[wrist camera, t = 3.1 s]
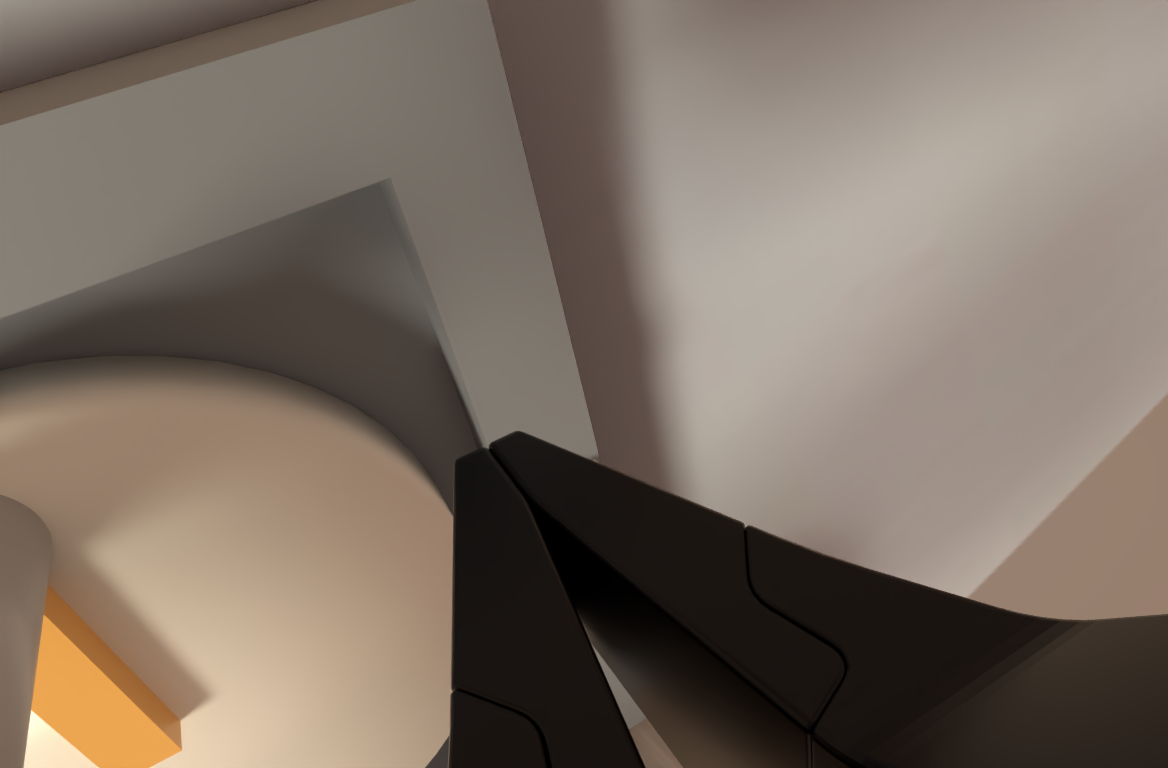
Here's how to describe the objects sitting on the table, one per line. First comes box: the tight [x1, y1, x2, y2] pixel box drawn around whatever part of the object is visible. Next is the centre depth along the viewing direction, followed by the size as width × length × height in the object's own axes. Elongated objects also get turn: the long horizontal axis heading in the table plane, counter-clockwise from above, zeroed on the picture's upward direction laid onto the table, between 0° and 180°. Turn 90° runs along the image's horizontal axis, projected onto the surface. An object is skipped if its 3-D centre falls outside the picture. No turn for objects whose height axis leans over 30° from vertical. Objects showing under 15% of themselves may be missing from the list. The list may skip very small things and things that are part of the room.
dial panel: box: [0, 0, 647, 768], centre depth 14 cm, size 18×18×3 cm
